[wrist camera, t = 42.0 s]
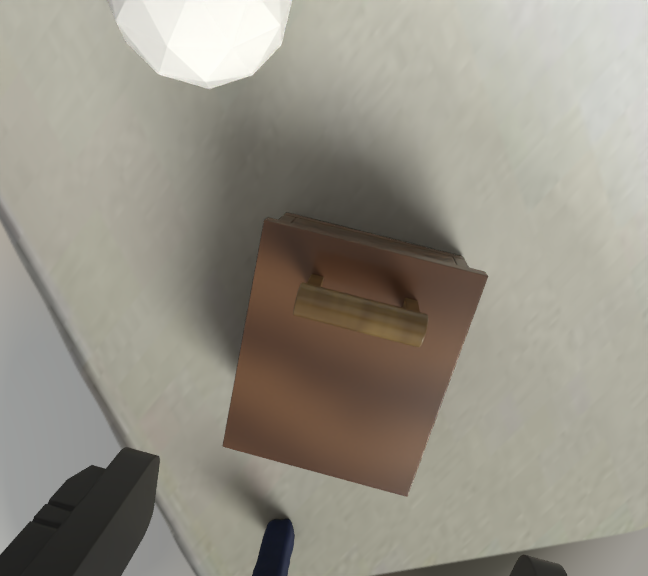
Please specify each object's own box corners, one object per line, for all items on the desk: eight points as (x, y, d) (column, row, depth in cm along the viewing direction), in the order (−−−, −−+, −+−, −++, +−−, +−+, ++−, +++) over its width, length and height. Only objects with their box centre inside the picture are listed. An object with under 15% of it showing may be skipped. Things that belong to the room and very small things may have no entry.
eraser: (266, 518, 39) (244, 596, 33) (293, 517, 39) (275, 596, 33) (271, 538, 40) (250, 618, 34) (297, 538, 40) (280, 619, 33)
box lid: (267, 216, 25) (243, 236, 21) (485, 271, 25) (506, 303, 20) (226, 438, 30) (199, 491, 26) (406, 487, 30) (410, 550, 25)
